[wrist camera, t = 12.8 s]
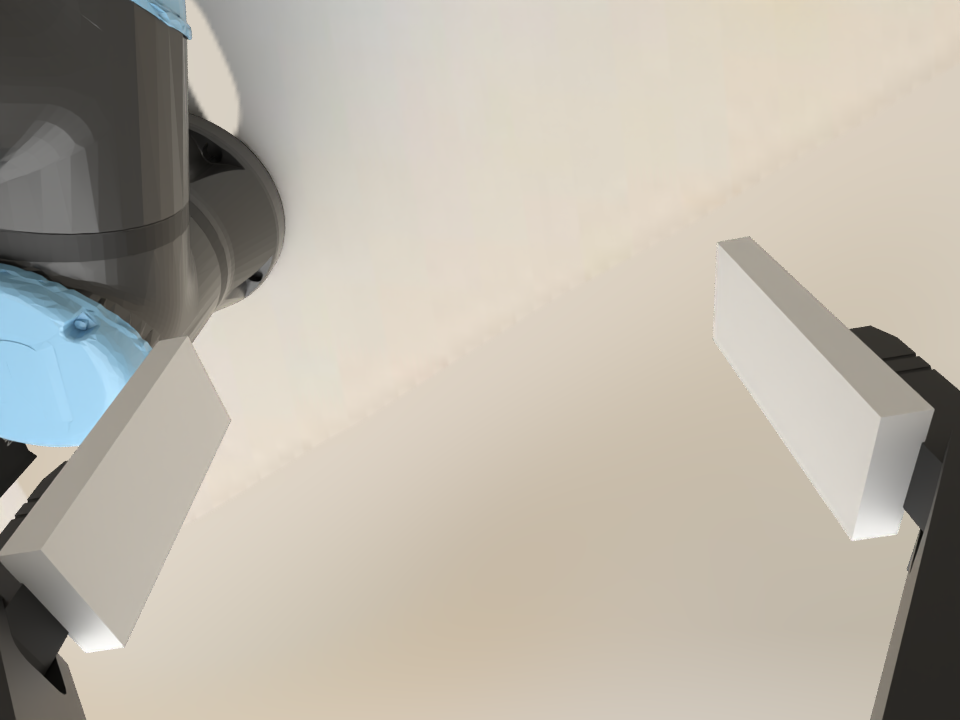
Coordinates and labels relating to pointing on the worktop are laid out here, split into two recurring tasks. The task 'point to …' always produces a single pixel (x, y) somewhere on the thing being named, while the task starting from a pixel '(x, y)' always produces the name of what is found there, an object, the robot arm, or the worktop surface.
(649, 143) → the worktop surface
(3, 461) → the protein powder
